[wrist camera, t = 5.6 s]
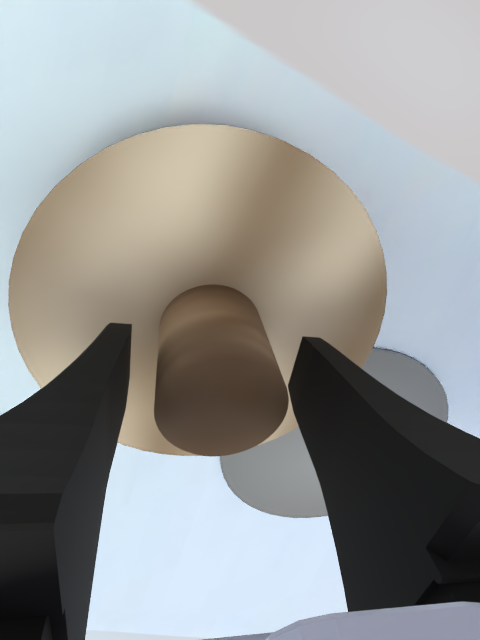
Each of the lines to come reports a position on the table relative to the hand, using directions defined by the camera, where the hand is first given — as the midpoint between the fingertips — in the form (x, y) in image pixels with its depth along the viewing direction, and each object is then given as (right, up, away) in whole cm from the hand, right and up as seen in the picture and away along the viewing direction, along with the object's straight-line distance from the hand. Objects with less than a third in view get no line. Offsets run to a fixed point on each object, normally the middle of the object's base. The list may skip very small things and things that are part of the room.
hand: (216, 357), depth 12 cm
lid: (0, +1, +2) cm, 3 cm away
